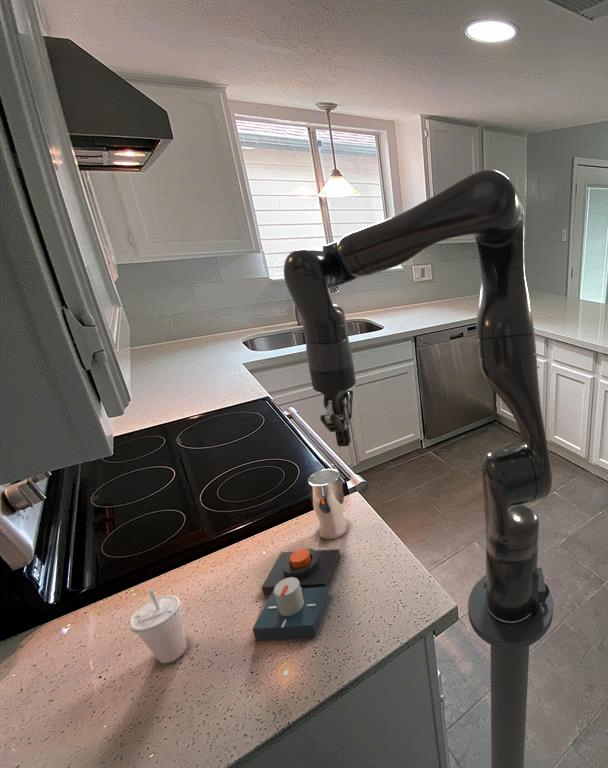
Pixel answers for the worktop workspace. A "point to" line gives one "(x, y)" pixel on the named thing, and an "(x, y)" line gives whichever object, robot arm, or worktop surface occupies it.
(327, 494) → the silver metal cup
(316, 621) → the knob panel
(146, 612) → the smoothie
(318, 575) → the orange push button panel
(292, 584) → the dial
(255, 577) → the worktop surface
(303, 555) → the button
